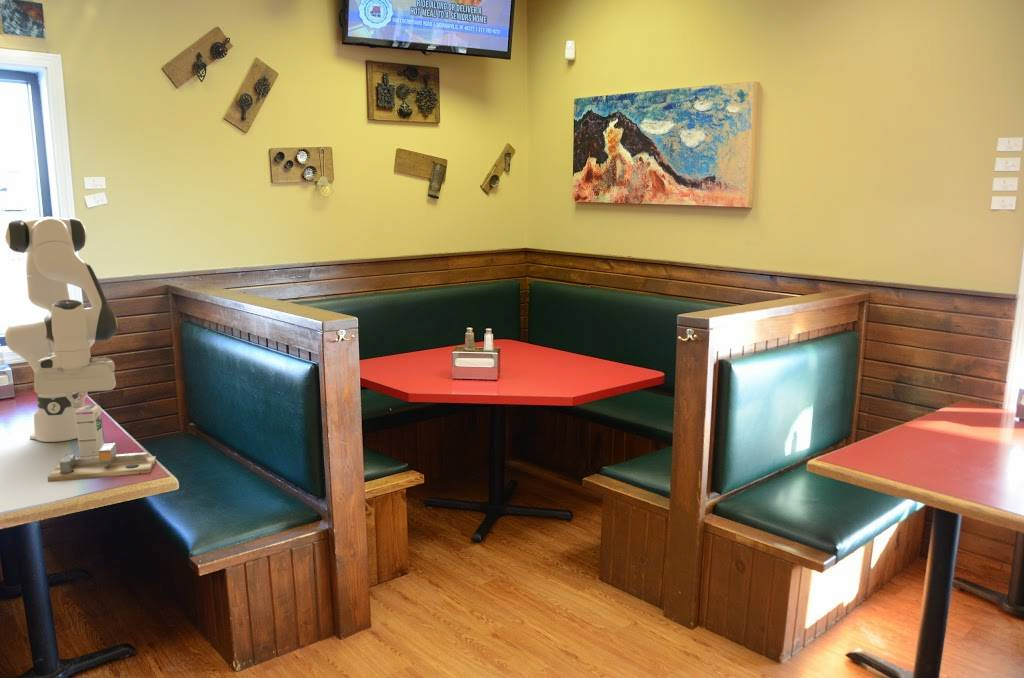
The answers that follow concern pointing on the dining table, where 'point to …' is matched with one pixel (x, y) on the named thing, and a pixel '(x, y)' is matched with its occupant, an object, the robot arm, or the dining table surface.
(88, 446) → the syrup box
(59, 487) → the dining table surface
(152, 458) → the hole board
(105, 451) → the block
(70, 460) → the trammel bar
